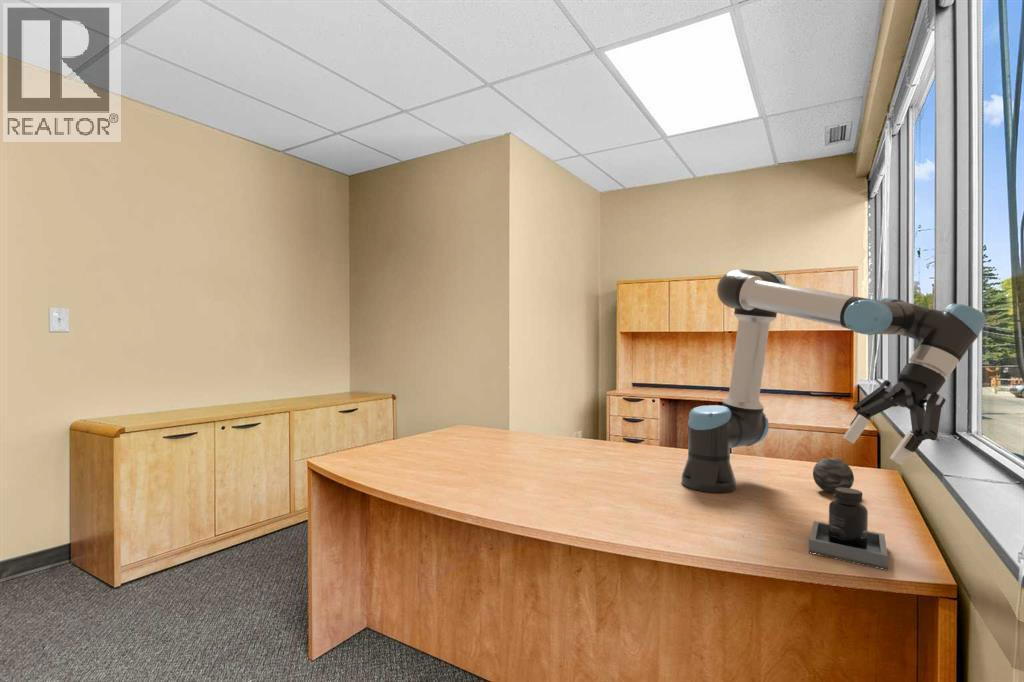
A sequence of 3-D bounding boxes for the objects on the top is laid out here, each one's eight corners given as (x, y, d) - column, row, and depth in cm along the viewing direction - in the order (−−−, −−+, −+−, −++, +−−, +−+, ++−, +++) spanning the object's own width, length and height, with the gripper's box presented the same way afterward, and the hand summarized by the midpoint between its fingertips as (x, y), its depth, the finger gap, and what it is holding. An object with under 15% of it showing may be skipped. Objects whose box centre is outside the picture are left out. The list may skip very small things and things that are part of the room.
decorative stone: (840, 488, 149) (841, 454, 149) (861, 499, 139) (862, 463, 139) (805, 487, 150) (806, 453, 149) (824, 498, 140) (825, 462, 139)
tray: (809, 553, 104) (809, 539, 104) (813, 532, 115) (813, 520, 115) (887, 570, 97) (887, 555, 97) (884, 547, 107) (884, 534, 107)
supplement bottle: (873, 555, 102) (874, 496, 101) (836, 552, 103) (837, 494, 103) (858, 542, 108) (858, 486, 108) (823, 539, 110) (823, 484, 110)
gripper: (997, 392, 98) (933, 481, 100) (893, 368, 123) (843, 440, 124) (969, 372, 97) (904, 463, 99) (870, 352, 122) (819, 425, 123)
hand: (870, 450), depth 112 cm, fingers open, 13 cm apart
